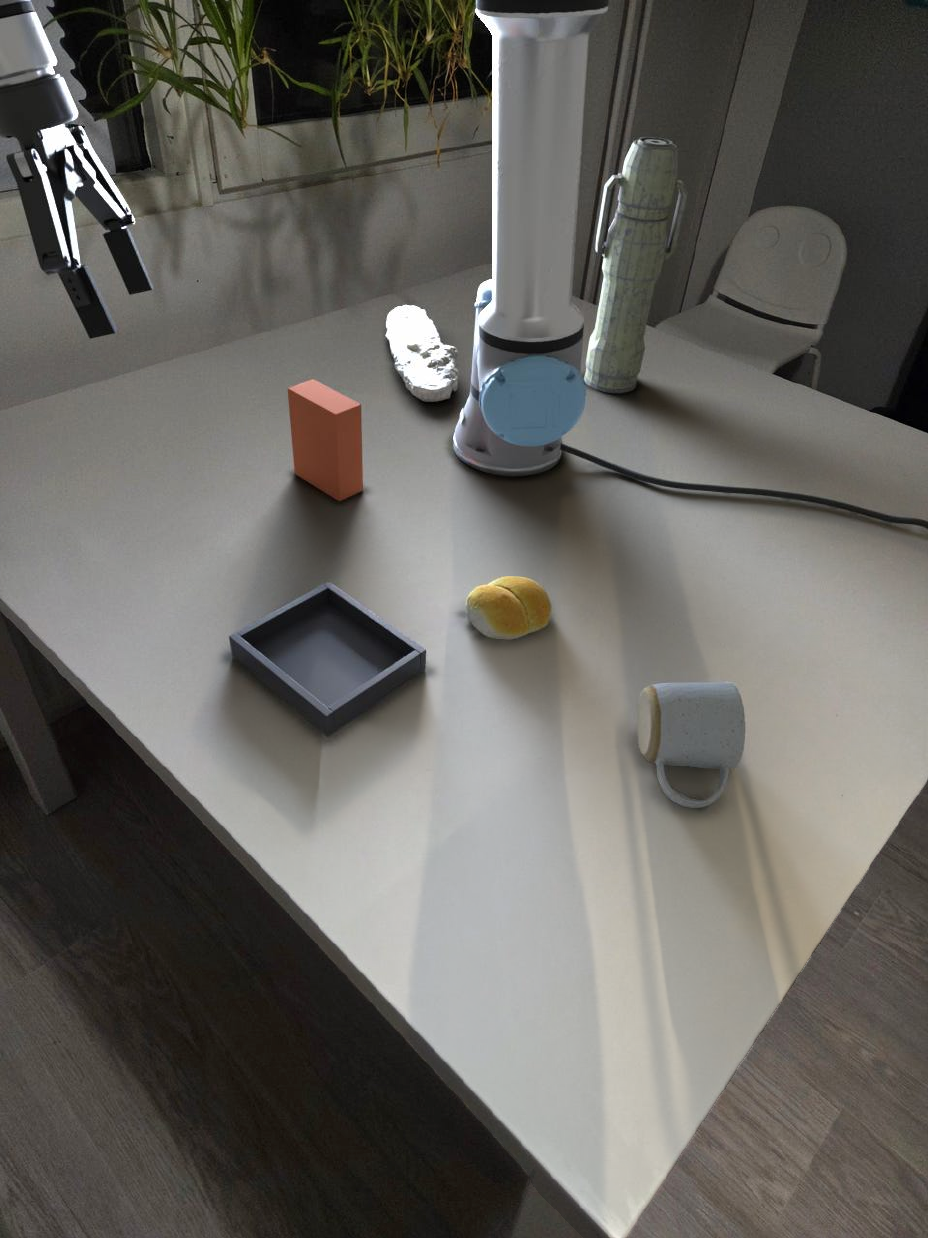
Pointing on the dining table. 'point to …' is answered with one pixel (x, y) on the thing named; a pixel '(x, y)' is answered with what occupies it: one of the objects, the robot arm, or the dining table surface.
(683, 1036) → the dining table surface
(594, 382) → the thermos
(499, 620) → the bread roll
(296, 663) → the tray
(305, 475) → the reddish orange block
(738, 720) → the ceramic mug
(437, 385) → the elongated rock
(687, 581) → the dining table surface
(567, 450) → the robot arm
